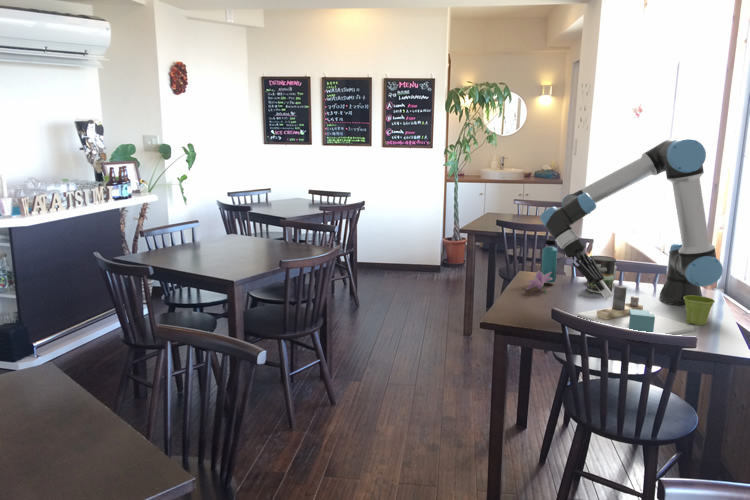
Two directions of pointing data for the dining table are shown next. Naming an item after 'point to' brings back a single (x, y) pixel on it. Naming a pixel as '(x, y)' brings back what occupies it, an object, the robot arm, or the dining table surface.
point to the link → (619, 304)
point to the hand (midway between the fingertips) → (609, 297)
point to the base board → (623, 321)
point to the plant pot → (697, 309)
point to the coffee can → (604, 272)
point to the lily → (539, 280)
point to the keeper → (641, 320)
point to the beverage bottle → (549, 260)
